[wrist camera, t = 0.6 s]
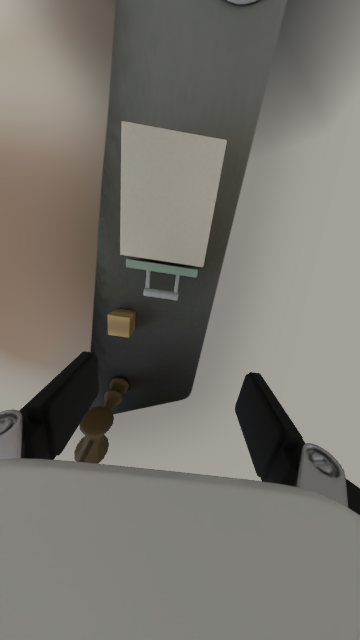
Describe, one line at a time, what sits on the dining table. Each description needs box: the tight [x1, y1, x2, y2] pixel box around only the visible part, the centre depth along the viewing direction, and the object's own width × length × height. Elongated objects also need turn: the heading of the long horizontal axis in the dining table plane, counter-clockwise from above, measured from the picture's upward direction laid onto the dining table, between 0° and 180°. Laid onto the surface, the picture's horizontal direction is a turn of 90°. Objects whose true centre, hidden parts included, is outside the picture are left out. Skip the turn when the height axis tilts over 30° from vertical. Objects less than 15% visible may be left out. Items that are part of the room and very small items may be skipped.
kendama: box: [75, 377, 129, 464], centre depth 35 cm, size 6×10×20 cm, turn 163°
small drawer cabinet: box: [120, 121, 227, 267], centre depth 26 cm, size 14×12×10 cm
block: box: [108, 308, 136, 337], centre depth 36 cm, size 4×4×4 cm
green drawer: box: [126, 258, 198, 300], centre depth 27 cm, size 18×11×8 cm, turn 172°
